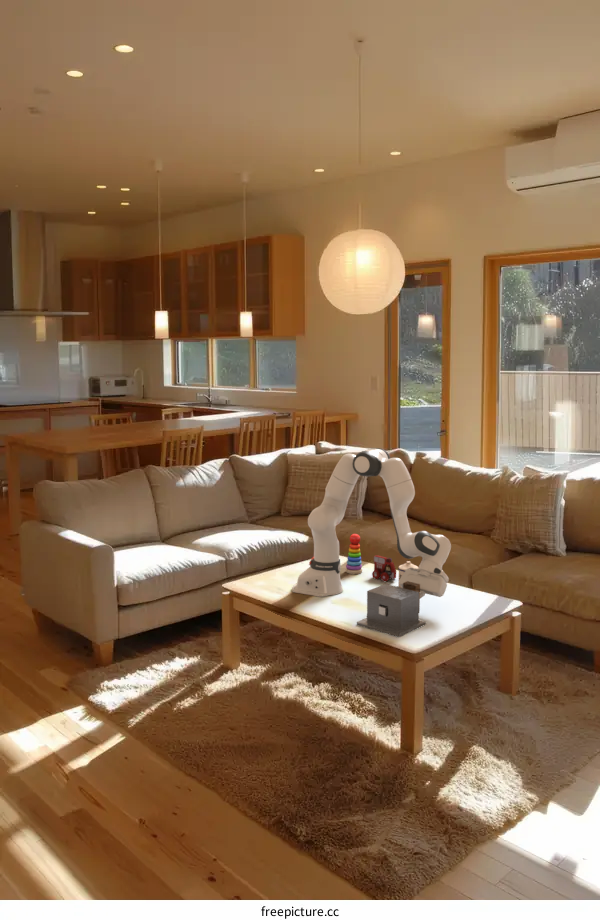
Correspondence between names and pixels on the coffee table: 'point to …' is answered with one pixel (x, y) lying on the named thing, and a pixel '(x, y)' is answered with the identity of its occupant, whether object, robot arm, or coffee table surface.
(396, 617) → the bearing block
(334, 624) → the coffee table surface
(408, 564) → the teacup with lid
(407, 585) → the shaft
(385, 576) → the toy fire truck
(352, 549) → the stacking toy
